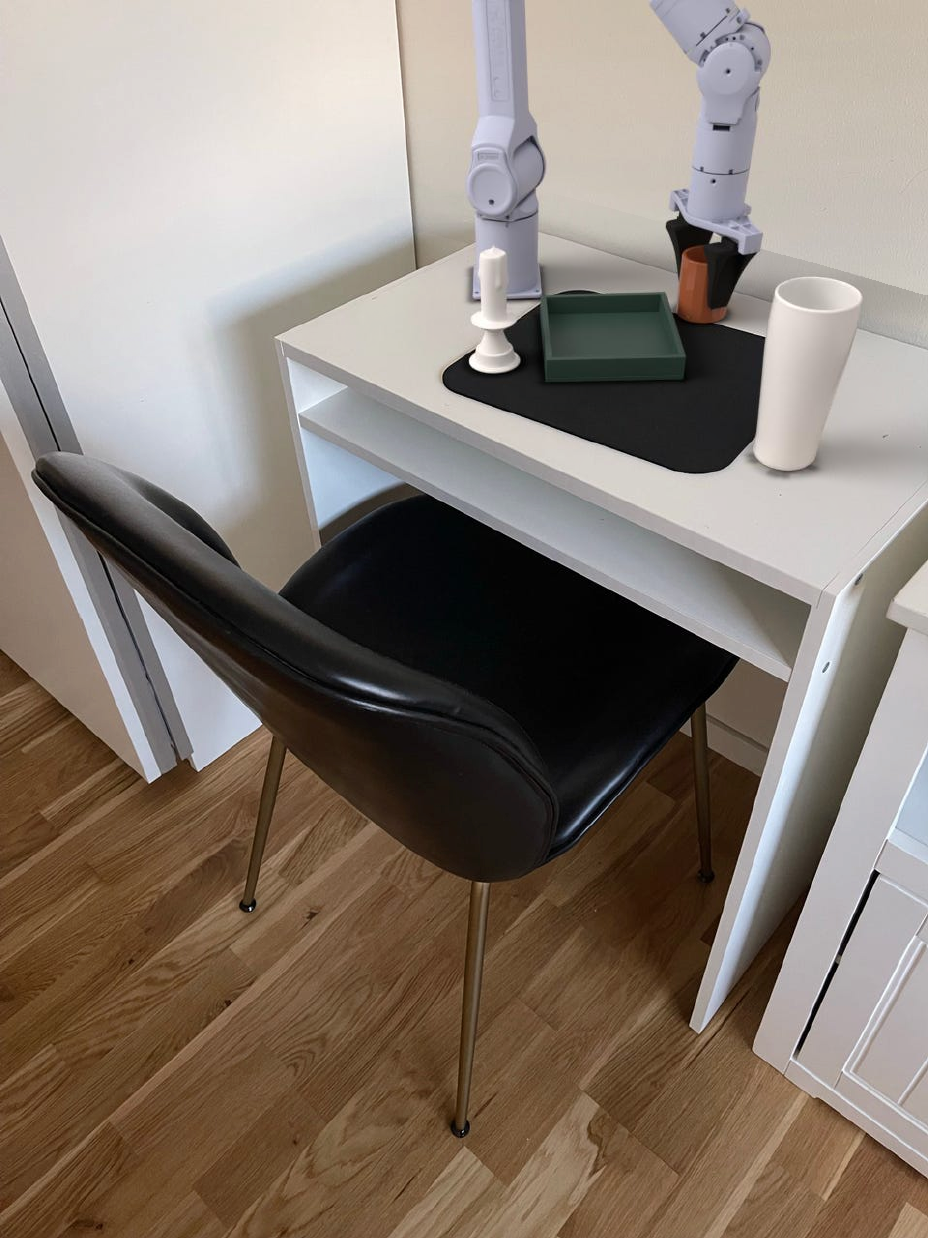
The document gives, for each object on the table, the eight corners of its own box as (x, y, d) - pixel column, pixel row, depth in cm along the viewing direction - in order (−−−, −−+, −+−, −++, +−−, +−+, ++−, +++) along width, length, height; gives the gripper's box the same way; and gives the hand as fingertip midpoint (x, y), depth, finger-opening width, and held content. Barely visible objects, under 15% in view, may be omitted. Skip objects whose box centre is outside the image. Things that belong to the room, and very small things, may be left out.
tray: (540, 316, 108) (540, 294, 106) (663, 313, 107) (665, 291, 105) (545, 382, 96) (546, 359, 95) (683, 379, 96) (686, 356, 94)
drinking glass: (737, 437, 88) (766, 276, 78) (812, 436, 87) (851, 274, 77) (751, 479, 83) (784, 312, 73) (831, 478, 82) (875, 310, 72)
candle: (474, 348, 102) (471, 235, 94) (524, 351, 101) (524, 237, 93) (464, 372, 99) (459, 256, 90) (515, 375, 98) (515, 258, 90)
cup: (672, 302, 109) (679, 245, 105) (720, 301, 109) (729, 244, 104) (679, 323, 105) (686, 265, 101) (729, 322, 105) (738, 263, 100)
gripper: (798, 180, 92) (772, 315, 101) (716, 140, 103) (699, 266, 112) (735, 192, 91) (714, 328, 100) (657, 150, 101) (646, 276, 110)
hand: (703, 296), depth 106 cm, fingers closed on cup, 5 cm apart
